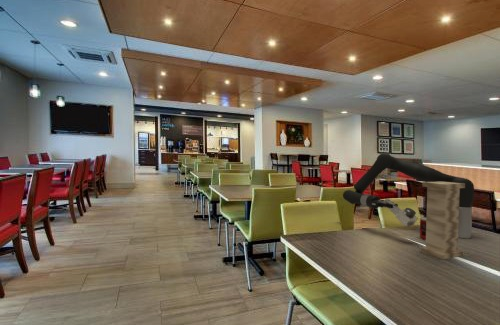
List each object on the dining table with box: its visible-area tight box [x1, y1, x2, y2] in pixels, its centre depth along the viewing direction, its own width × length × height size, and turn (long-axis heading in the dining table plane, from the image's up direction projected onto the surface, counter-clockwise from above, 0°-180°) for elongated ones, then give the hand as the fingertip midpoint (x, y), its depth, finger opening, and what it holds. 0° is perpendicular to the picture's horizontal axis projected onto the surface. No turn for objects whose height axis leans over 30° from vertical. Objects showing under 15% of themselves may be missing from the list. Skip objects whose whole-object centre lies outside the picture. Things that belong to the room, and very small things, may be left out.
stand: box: [419, 181, 465, 261], centre depth 125 cm, size 14×10×33 cm
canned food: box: [419, 216, 427, 241], centre depth 148 cm, size 8×8×11 cm
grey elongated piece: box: [384, 198, 419, 227], centre depth 146 cm, size 6×18×7 cm
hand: (394, 206), depth 148 cm, fingers closed on grey elongated piece, 3 cm apart
